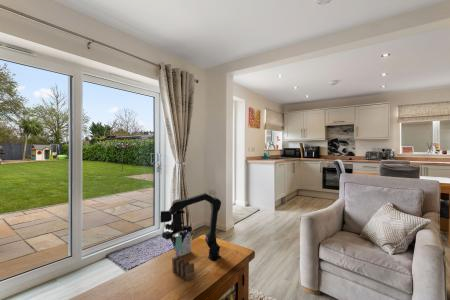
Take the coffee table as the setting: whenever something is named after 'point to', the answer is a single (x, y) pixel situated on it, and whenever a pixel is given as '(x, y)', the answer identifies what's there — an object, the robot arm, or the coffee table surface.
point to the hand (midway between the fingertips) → (177, 245)
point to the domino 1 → (178, 243)
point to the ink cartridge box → (185, 246)
